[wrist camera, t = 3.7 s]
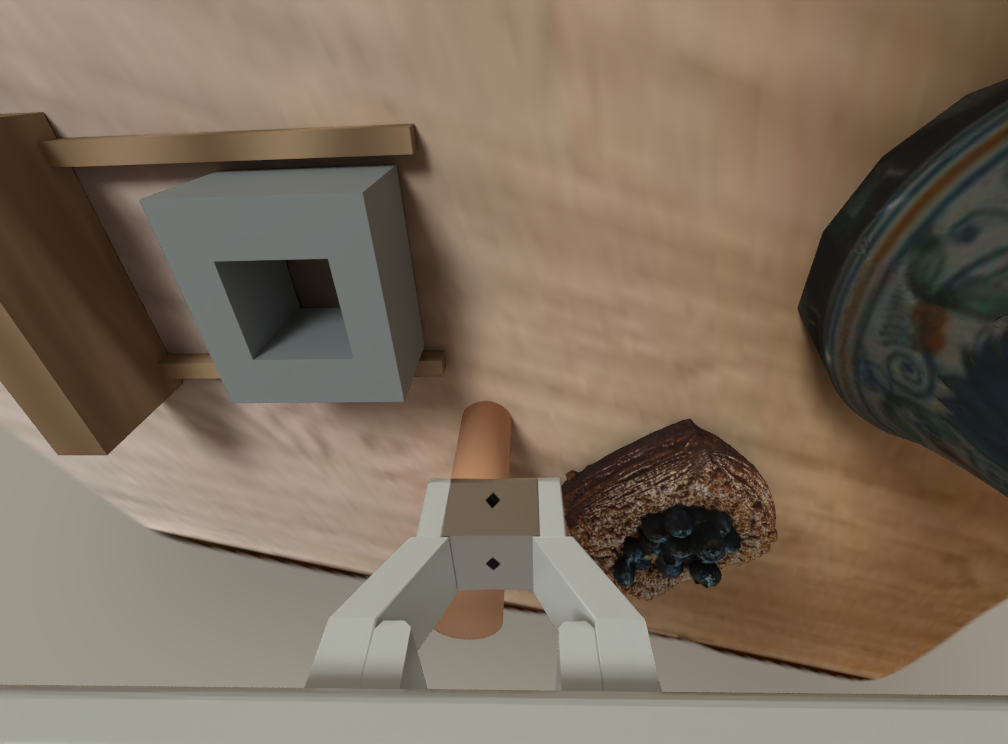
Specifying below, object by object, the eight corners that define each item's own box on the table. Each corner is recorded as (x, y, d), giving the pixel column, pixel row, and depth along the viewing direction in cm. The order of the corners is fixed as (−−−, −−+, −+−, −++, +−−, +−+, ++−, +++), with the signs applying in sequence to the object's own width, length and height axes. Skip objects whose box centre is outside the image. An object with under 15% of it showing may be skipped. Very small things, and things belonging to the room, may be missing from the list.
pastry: (538, 482, 31) (540, 560, 27) (705, 394, 27) (744, 469, 22) (625, 562, 36) (641, 642, 31) (781, 498, 31) (828, 580, 26)
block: (396, 164, 20) (362, 192, 16) (424, 344, 25) (404, 401, 21) (217, 170, 21) (138, 199, 16) (280, 346, 26) (232, 402, 21)
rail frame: (410, 95, 19) (368, 109, 14) (447, 380, 27) (429, 455, 22) (-13, 114, 20) (-193, 134, 15) (142, 383, 28) (58, 455, 23)
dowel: (510, 401, 27) (501, 598, 17) (512, 439, 29) (504, 640, 19) (459, 401, 27) (421, 597, 18) (464, 440, 29) (431, 638, 19)
